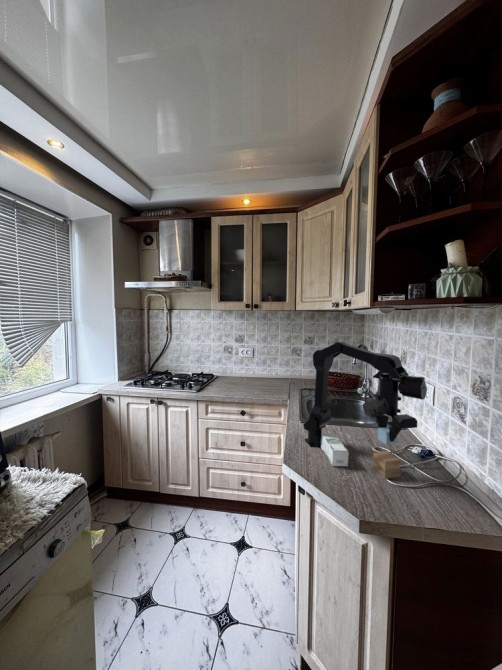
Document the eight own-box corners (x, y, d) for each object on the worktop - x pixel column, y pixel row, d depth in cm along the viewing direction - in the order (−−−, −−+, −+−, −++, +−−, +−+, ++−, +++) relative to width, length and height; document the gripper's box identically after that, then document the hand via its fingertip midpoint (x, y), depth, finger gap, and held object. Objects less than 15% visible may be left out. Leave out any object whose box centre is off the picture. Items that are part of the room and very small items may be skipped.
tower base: (372, 469, 91) (372, 461, 91) (387, 467, 93) (387, 459, 92) (384, 479, 85) (385, 470, 85) (400, 477, 87) (400, 468, 87)
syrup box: (348, 467, 92) (334, 447, 107) (349, 450, 92) (334, 433, 107) (332, 466, 92) (320, 447, 107) (332, 450, 92) (321, 433, 106)
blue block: (377, 439, 90) (378, 427, 90) (387, 438, 91) (388, 427, 91) (386, 444, 86) (386, 432, 86) (396, 443, 87) (397, 431, 87)
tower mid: (373, 461, 91) (373, 452, 91) (387, 459, 92) (387, 451, 92) (385, 470, 86) (385, 461, 85) (399, 468, 87) (399, 459, 87)
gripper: (350, 387, 95) (349, 429, 96) (388, 402, 77) (386, 454, 78) (377, 385, 98) (376, 426, 98) (419, 400, 79) (417, 450, 80)
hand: (386, 438), depth 89 cm, fingers closed on blue block, 4 cm apart
